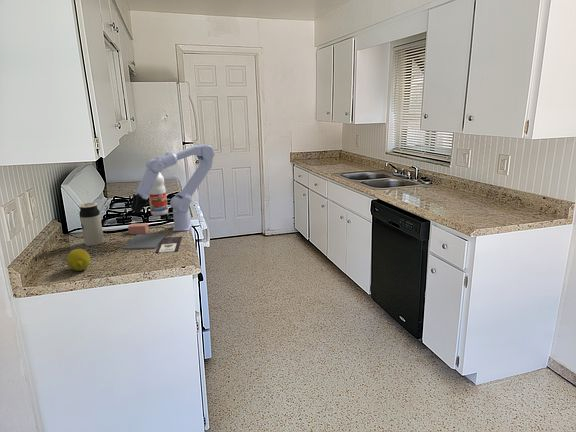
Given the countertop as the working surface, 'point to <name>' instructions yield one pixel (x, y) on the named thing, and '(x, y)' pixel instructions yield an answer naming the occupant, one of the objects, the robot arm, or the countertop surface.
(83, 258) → the lemon
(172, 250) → the chocolate bar
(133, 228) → the block
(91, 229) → the travel mug
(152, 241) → the mat
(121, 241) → the countertop surface
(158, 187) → the fruit juice
